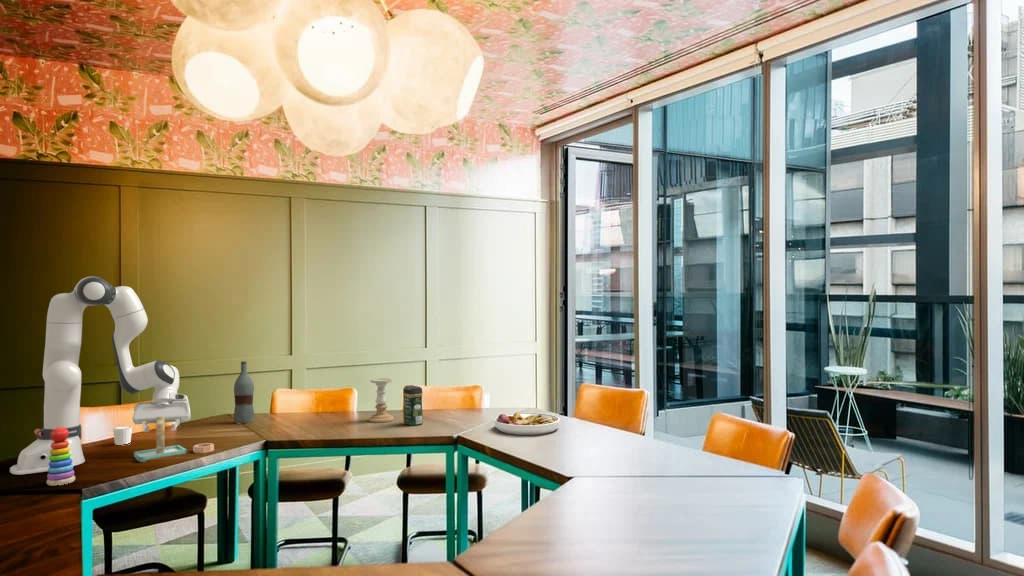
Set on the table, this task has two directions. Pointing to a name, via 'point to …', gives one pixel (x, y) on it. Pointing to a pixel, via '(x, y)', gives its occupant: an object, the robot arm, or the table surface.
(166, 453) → the tray
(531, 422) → the bowl
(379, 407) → the candle holder
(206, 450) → the wooden ring
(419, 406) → the coffee jar
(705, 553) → the table surface
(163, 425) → the dowel
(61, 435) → the stacking toy
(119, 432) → the white tapered pot
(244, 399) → the bottle
